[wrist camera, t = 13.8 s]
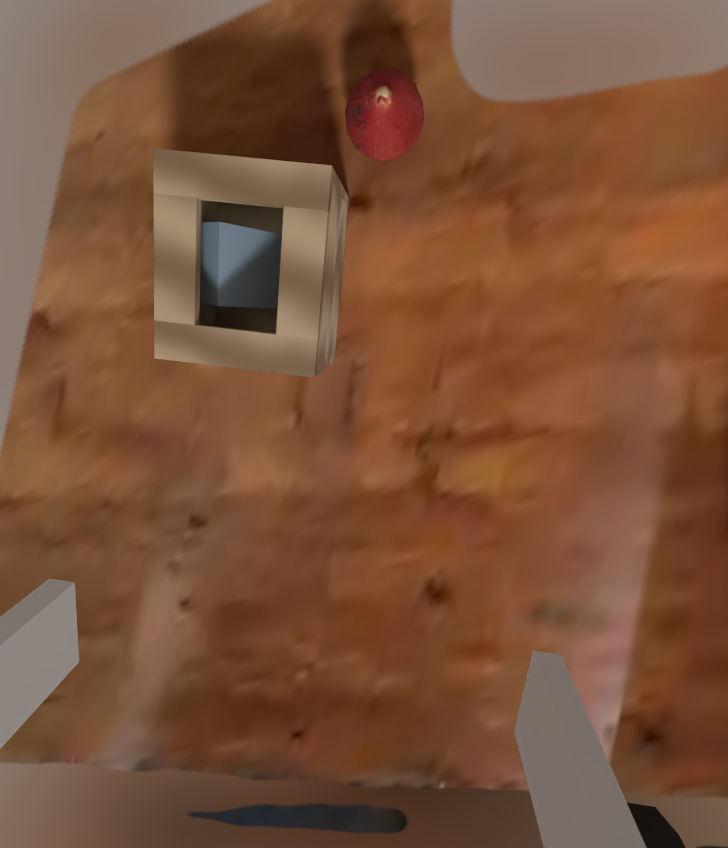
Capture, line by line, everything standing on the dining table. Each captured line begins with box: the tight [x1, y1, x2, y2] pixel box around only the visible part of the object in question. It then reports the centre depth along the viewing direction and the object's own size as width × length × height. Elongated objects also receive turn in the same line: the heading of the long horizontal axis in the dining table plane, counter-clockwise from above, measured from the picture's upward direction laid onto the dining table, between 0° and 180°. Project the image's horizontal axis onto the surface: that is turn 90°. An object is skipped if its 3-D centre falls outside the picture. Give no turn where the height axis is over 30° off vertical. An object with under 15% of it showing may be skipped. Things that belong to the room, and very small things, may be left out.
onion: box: [345, 68, 424, 161], centre depth 35 cm, size 6×6×8 cm
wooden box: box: [153, 148, 349, 377], centre depth 38 cm, size 14×12×10 cm
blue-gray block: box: [200, 222, 282, 309], centre depth 39 cm, size 6×4×6 cm
